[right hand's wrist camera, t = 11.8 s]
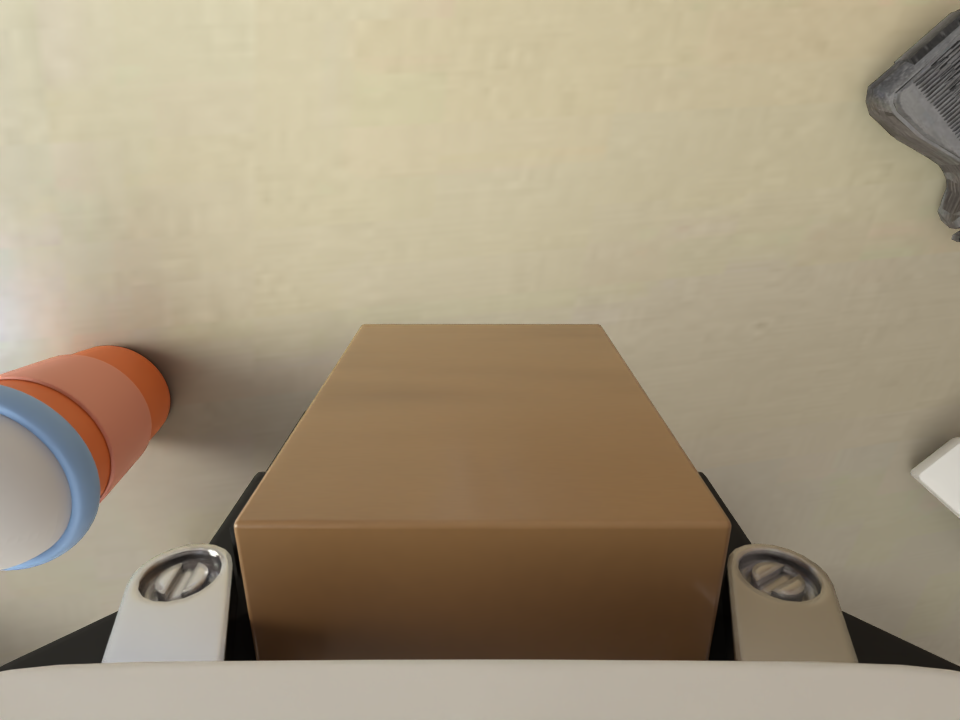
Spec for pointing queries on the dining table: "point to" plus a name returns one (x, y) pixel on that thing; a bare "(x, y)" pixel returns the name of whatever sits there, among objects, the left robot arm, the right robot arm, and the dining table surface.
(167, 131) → the dining table surface
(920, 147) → the handgun
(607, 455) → the wooden block
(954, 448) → the white angular bar
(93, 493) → the cup with straw
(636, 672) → the right robot arm
